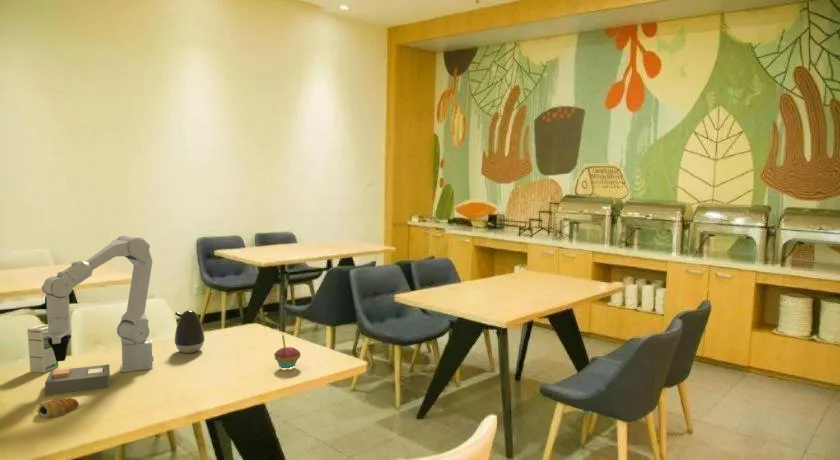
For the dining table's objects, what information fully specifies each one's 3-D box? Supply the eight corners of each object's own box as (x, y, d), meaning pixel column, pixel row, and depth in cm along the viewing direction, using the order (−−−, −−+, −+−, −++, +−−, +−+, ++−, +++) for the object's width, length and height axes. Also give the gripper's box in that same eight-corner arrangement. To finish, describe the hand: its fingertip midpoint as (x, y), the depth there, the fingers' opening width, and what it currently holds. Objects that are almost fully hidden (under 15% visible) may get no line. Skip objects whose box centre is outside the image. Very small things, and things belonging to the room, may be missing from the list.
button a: (103, 378, 184) (103, 367, 184) (102, 382, 180) (102, 371, 180) (89, 380, 182) (88, 369, 182) (87, 384, 179) (87, 373, 178)
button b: (70, 379, 180) (69, 368, 180) (68, 384, 177) (68, 372, 176) (55, 381, 179) (54, 370, 178) (53, 386, 175) (52, 374, 175)
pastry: (70, 403, 167) (69, 390, 166) (84, 408, 163) (83, 395, 163) (35, 415, 159) (34, 401, 158) (49, 421, 155) (48, 407, 155)
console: (109, 376, 188) (109, 364, 187) (107, 388, 178) (107, 375, 178) (51, 383, 181) (50, 370, 181) (45, 396, 171) (45, 382, 171)
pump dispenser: (183, 346, 221) (182, 306, 219) (209, 347, 219) (209, 307, 218) (168, 354, 211) (167, 313, 209) (195, 356, 209) (194, 314, 208)
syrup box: (44, 373, 190) (42, 329, 189) (29, 371, 191) (26, 328, 190) (58, 367, 196) (56, 324, 194) (43, 365, 197) (41, 323, 195)
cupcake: (269, 370, 196) (269, 335, 195) (284, 362, 204) (284, 329, 203) (291, 374, 193) (290, 338, 192) (305, 366, 201) (305, 332, 199)
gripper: (46, 312, 180) (49, 355, 182) (38, 323, 167) (41, 369, 169) (73, 310, 183) (75, 352, 185) (67, 321, 170) (69, 366, 172)
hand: (61, 360), depth 177 cm, fingers closed
